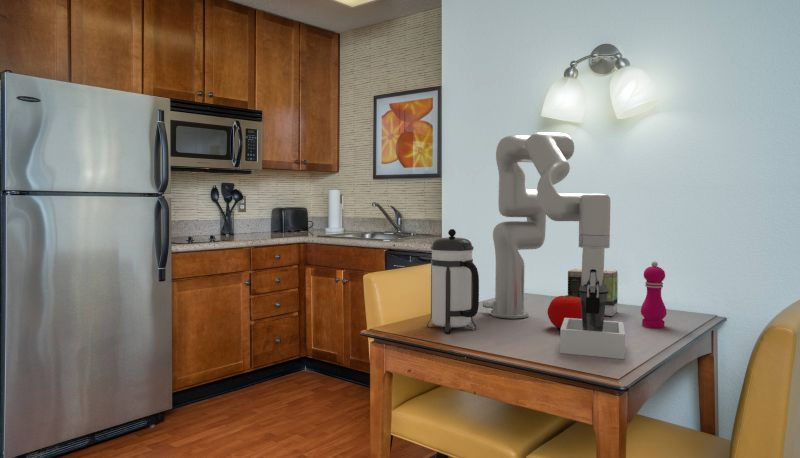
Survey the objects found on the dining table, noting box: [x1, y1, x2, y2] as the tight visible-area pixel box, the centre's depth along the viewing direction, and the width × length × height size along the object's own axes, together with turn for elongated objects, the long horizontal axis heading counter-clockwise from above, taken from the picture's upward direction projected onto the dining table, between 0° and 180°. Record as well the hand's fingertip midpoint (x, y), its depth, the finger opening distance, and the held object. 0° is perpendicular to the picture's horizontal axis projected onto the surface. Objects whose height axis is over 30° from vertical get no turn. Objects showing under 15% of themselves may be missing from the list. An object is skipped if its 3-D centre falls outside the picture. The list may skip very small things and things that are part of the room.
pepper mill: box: [640, 261, 668, 329], centre depth 166 cm, size 7×7×20 cm
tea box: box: [567, 268, 619, 317], centre depth 188 cm, size 15×10×15 cm
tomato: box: [547, 293, 582, 329], centre depth 162 cm, size 11×12×10 cm
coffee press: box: [426, 228, 480, 334], centre depth 161 cm, size 17×16×30 cm
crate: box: [559, 318, 626, 360], centre depth 140 cm, size 15×15×6 cm
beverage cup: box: [579, 276, 608, 332], centre depth 140 cm, size 7×7×20 cm
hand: (592, 309), depth 140 cm, fingers closed on beverage cup, 6 cm apart
